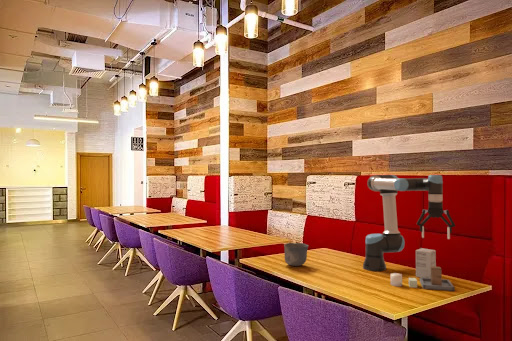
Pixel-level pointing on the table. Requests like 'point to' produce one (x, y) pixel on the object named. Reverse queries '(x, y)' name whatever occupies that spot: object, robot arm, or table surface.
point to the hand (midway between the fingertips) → (435, 238)
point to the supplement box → (425, 262)
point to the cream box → (413, 282)
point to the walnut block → (436, 276)
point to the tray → (445, 285)
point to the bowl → (295, 253)
